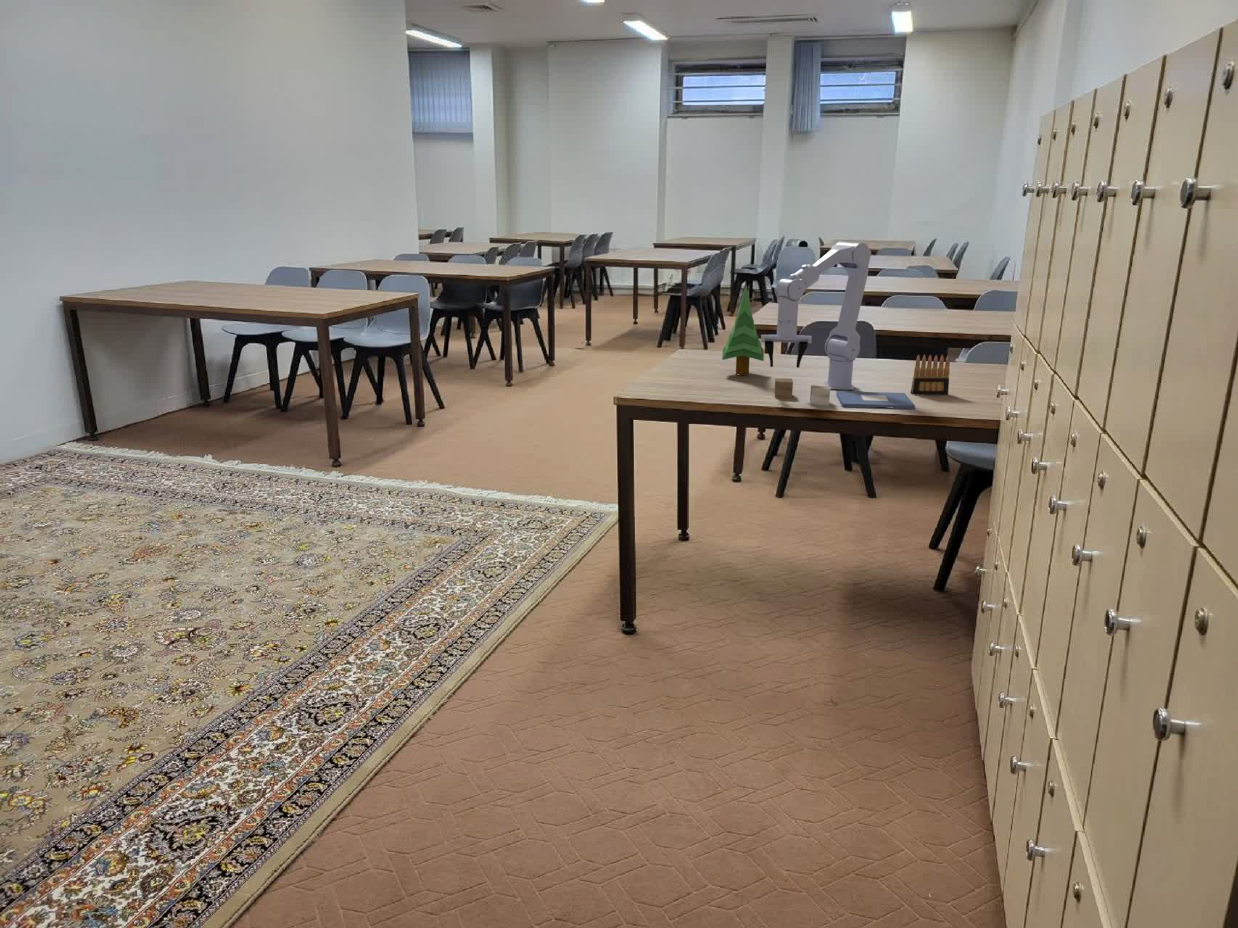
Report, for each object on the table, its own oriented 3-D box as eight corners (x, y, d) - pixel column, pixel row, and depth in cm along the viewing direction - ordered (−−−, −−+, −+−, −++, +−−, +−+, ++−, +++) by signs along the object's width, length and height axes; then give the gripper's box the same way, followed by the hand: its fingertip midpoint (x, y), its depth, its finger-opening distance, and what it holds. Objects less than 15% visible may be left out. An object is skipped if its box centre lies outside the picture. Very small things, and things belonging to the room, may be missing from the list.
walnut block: (774, 394, 266) (775, 377, 265) (791, 394, 265) (792, 378, 264) (774, 397, 261) (775, 381, 260) (792, 398, 261) (793, 381, 259)
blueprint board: (836, 394, 265) (836, 390, 265) (904, 396, 263) (904, 392, 262) (842, 406, 250) (842, 403, 250) (914, 409, 248) (915, 405, 247)
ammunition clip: (912, 394, 265) (916, 355, 261) (910, 393, 267) (914, 354, 263) (948, 394, 264) (952, 355, 261) (946, 393, 266) (950, 354, 263)
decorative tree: (773, 376, 290) (778, 284, 281) (731, 380, 284) (734, 286, 275) (752, 369, 302) (756, 280, 293) (711, 372, 296) (714, 282, 287)
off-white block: (809, 401, 257) (811, 384, 256) (827, 401, 257) (828, 385, 255) (811, 405, 253) (812, 388, 251) (829, 405, 252) (830, 388, 250)
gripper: (762, 322, 254) (760, 368, 258) (813, 323, 252) (810, 370, 256) (761, 318, 260) (759, 364, 264) (811, 319, 259) (808, 365, 263)
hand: (784, 366), depth 261 cm, fingers open, 7 cm apart
